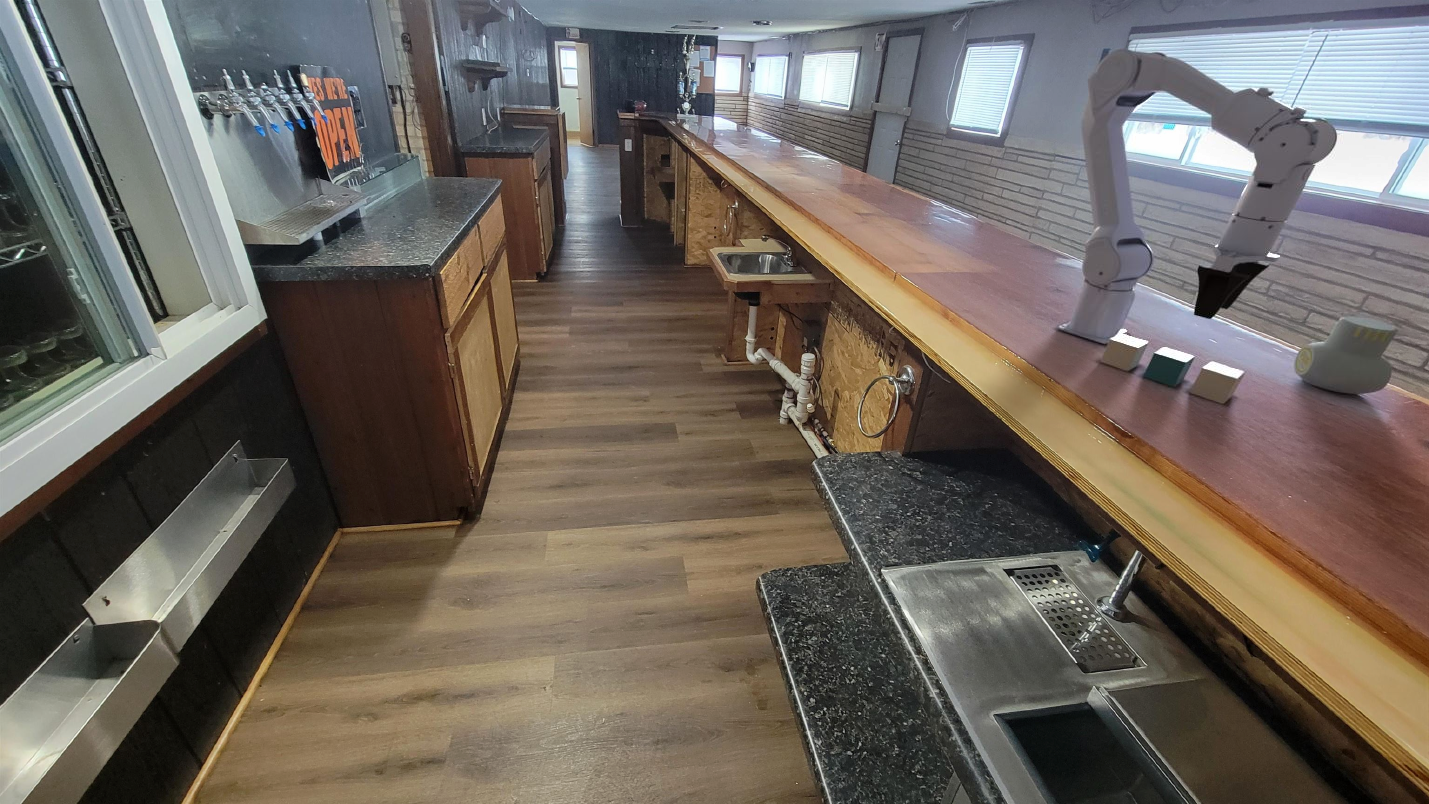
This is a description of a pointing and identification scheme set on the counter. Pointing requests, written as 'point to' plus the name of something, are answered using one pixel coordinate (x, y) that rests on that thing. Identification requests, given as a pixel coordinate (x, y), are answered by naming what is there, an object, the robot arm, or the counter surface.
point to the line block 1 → (1124, 352)
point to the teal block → (1169, 366)
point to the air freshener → (1348, 357)
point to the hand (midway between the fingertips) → (1211, 311)
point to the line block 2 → (1217, 382)
